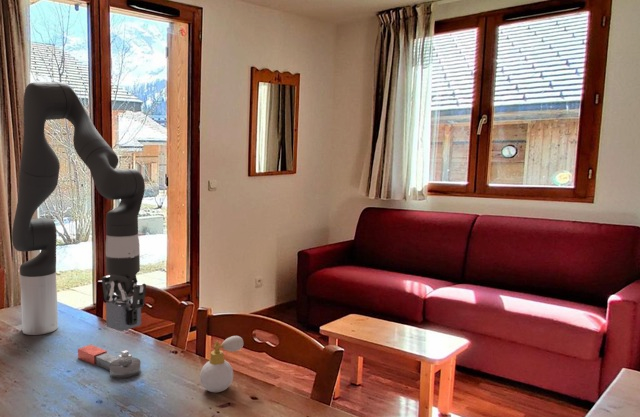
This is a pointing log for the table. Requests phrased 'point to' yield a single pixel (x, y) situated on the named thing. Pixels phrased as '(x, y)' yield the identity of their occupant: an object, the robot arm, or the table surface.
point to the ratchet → (111, 361)
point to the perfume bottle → (220, 366)
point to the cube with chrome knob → (119, 315)
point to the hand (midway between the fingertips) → (124, 321)
